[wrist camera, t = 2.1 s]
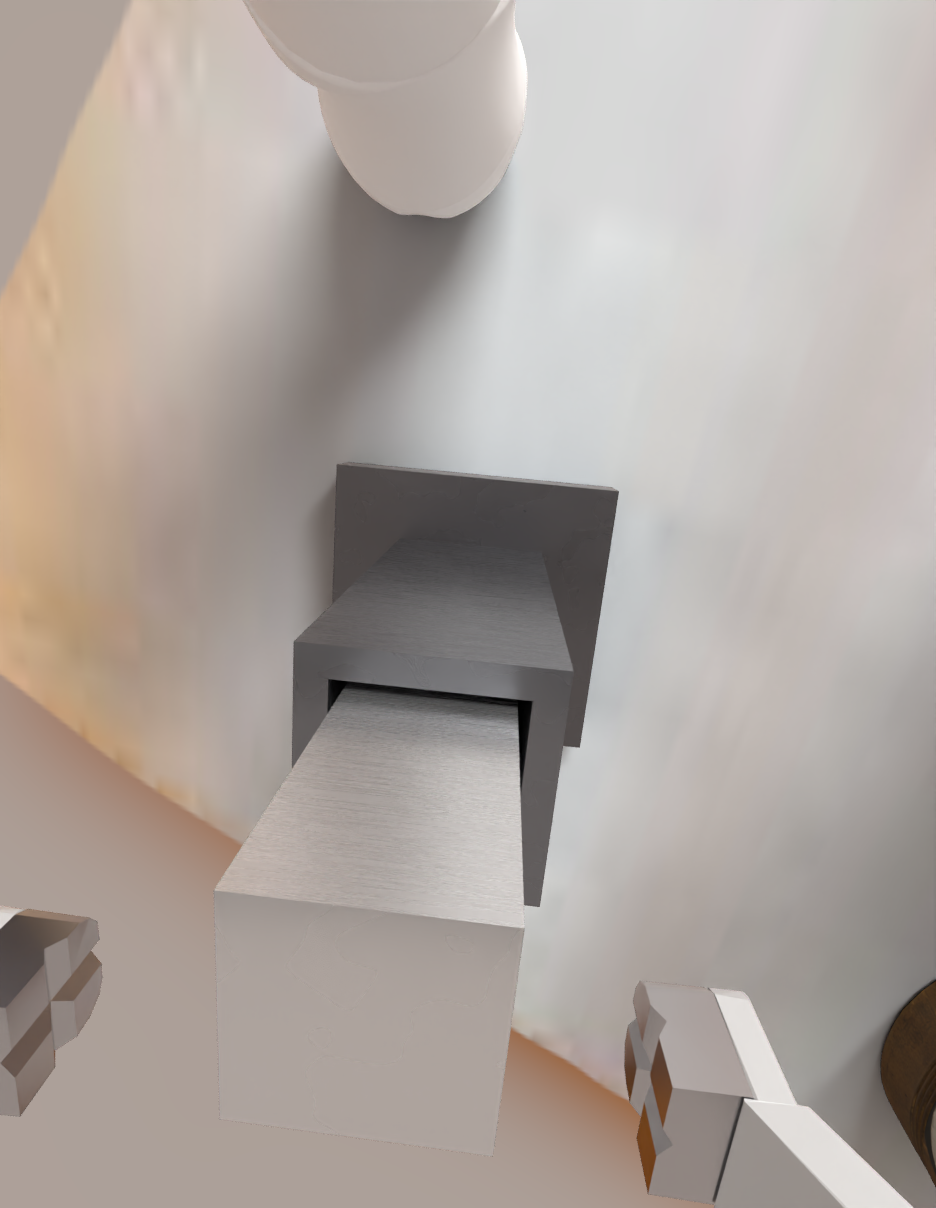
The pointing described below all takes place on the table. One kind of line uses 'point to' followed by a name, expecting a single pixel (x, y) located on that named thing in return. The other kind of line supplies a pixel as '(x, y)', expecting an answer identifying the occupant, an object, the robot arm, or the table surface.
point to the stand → (466, 609)
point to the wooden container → (914, 1074)
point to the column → (378, 927)
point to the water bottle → (410, 92)
